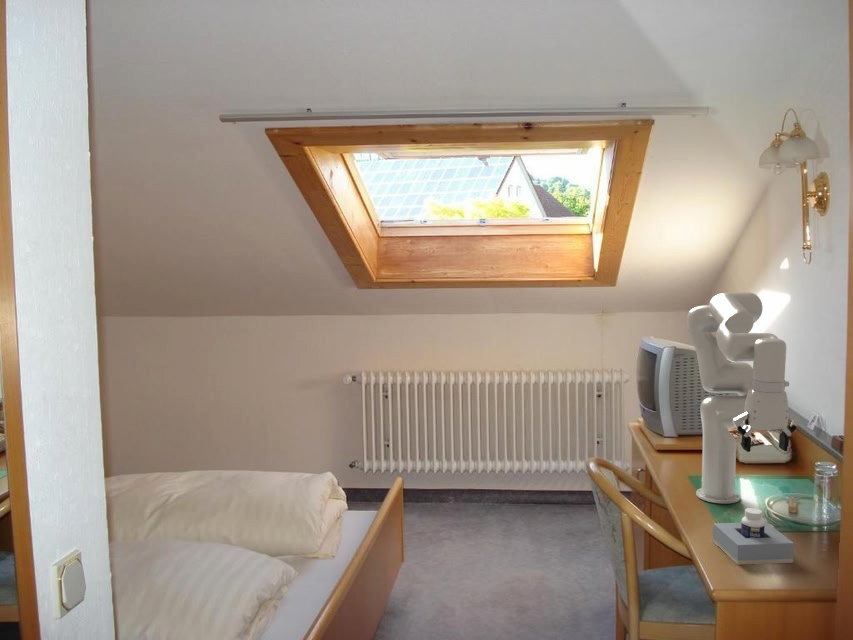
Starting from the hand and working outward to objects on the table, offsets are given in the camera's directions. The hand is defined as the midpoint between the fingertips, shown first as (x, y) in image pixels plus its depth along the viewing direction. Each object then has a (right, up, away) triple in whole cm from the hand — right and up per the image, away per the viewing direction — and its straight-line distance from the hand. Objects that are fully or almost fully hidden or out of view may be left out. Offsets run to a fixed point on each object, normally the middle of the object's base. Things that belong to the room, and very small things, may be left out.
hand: (764, 449), depth 195 cm
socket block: (-6, -25, -5) cm, 26 cm away
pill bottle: (-6, -24, -5) cm, 25 cm away
